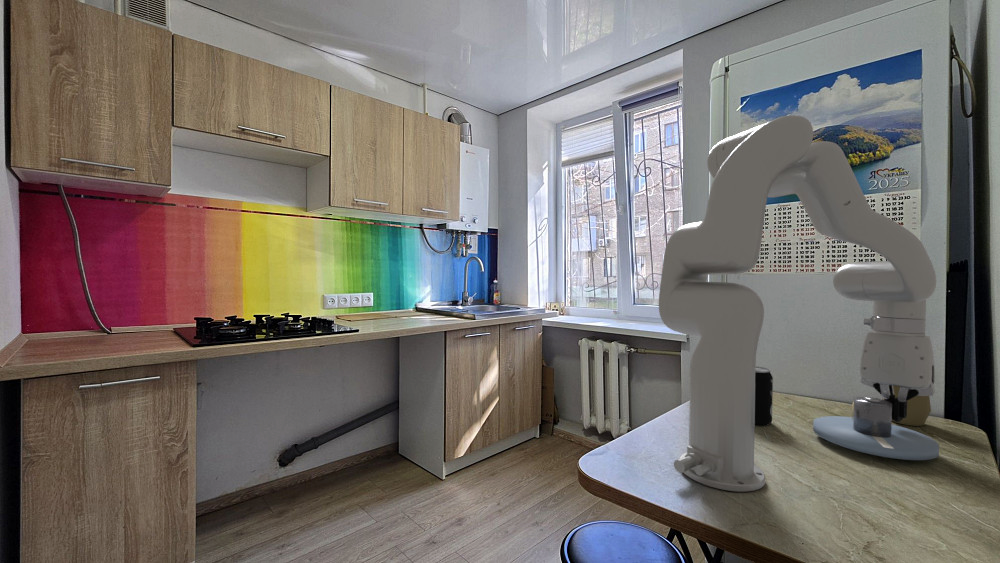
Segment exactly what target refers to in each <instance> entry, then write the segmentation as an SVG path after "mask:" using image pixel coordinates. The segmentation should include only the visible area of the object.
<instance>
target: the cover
mask: <svg viewBox="0 0 1000 563" xmlns="http://www.w3.org/2000/svg"><path fill="white" fill-rule="evenodd" d="M853 402H854V413H853V429H854V430H855V431H857V432H859V433H862V434H865V435H869V436H874V437H883V438H887V437H891V429H892V422H893V421H892V403H890V402H888V401H884V400H882V399H881V398H878V397H874V396H856V397H854V398H853Z"/></svg>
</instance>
